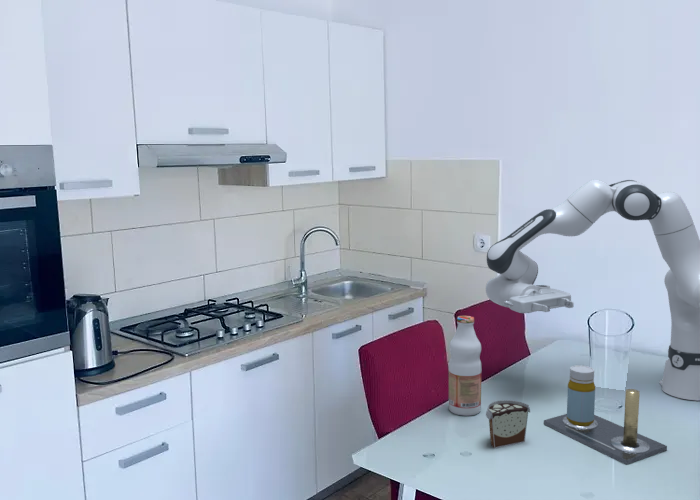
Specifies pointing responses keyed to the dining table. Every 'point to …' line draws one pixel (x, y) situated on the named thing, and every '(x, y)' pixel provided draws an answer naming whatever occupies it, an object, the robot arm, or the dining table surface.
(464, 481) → the dining table surface
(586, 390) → the bottle
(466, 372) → the fruit juice
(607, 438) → the gauge plate
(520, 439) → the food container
